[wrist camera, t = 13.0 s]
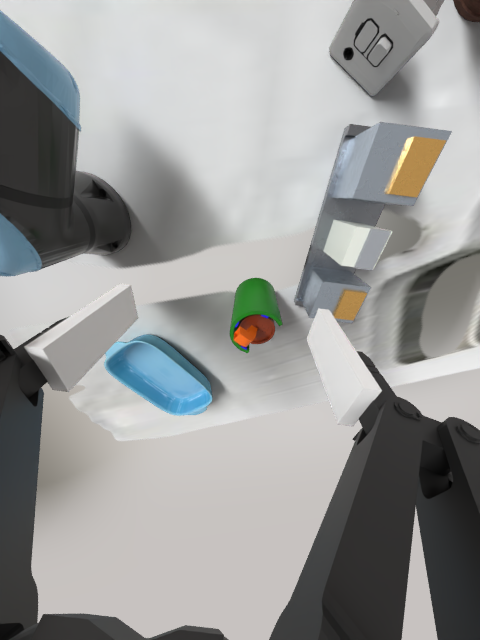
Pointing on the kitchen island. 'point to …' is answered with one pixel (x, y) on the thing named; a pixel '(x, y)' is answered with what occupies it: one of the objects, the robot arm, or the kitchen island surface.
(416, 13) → the electrical switch
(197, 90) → the kitchen island surface
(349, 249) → the block
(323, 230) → the rail
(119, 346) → the casserole dish
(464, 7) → the black ball on stand
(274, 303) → the motor
